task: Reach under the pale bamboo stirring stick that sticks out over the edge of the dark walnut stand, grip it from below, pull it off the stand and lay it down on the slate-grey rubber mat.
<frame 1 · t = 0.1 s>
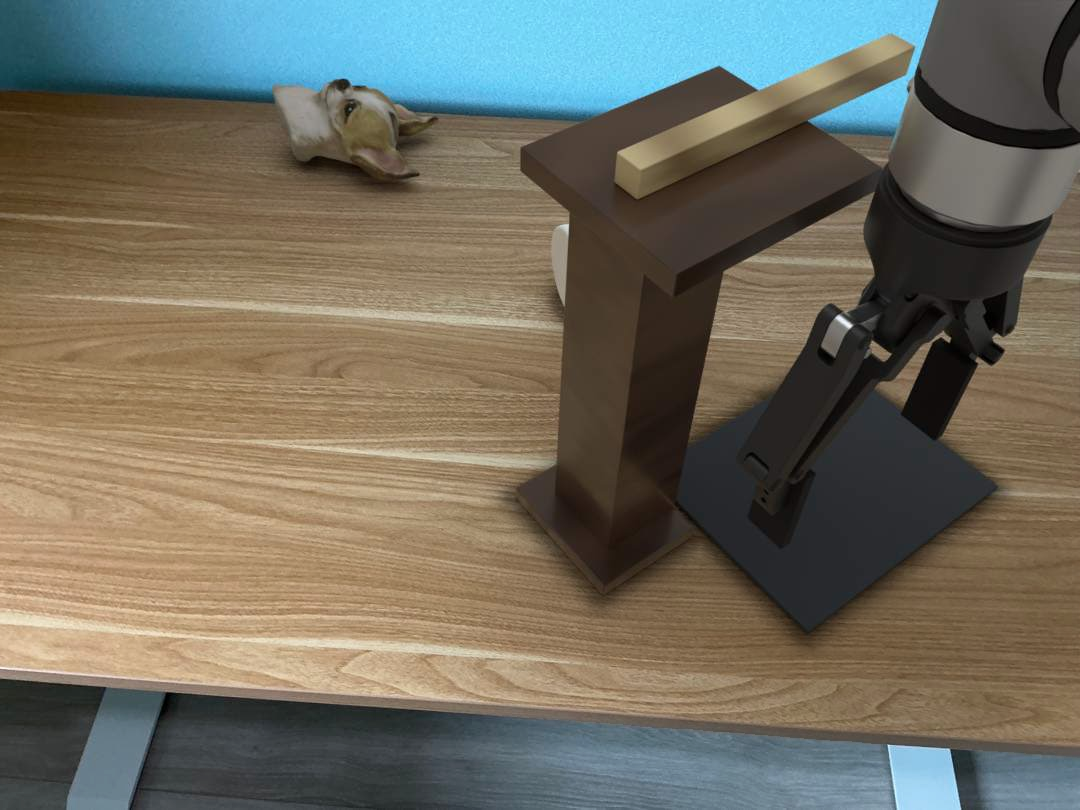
hand: (848, 475, 60), 10 cm above the table, tool pointing down, fingers open, 13 cm apart
mat: (821, 482, 73), on the table
stand: (644, 490, 72), on the table
mug: (627, 315, 84), on the table
ceramic sculpture: (358, 159, 98), on the table
stirring stick: (770, 125, 52), point 28 cm above the table, touching stand
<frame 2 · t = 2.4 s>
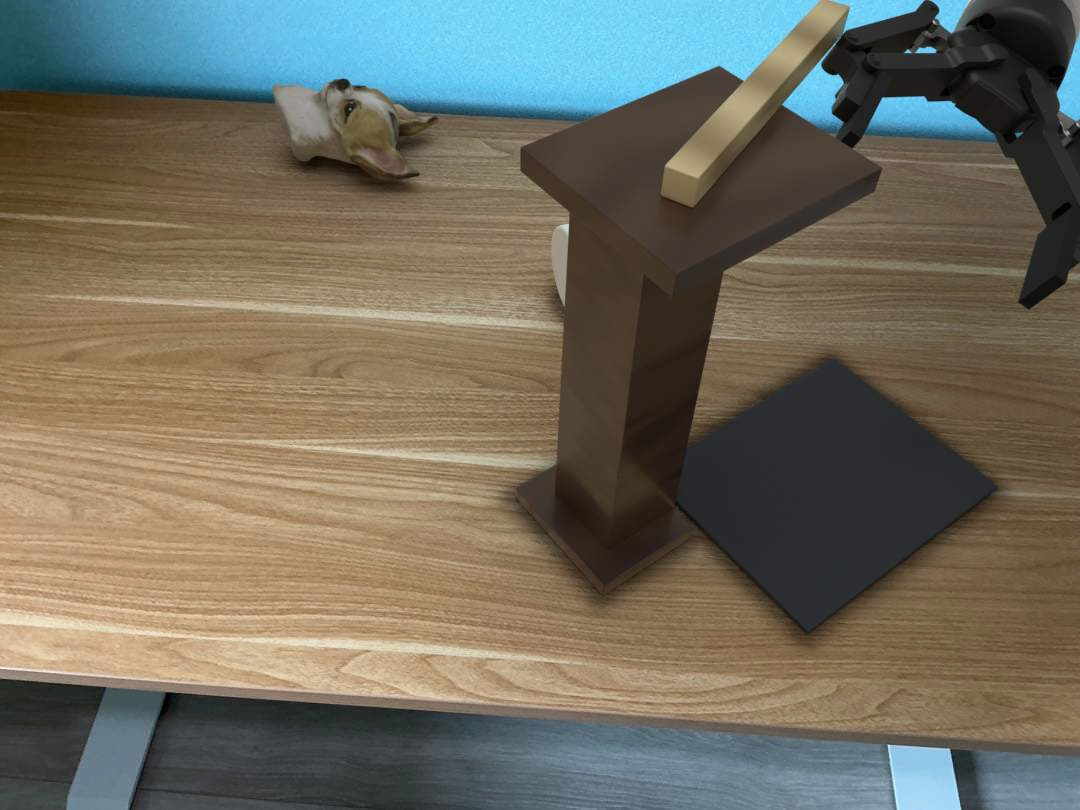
hand: (941, 222, 54), 24 cm above the table, tool horizontal, fingers open, 13 cm apart
stirring stick: (760, 107, 54), point 29 cm above the table, touching stand
everything else where it was.
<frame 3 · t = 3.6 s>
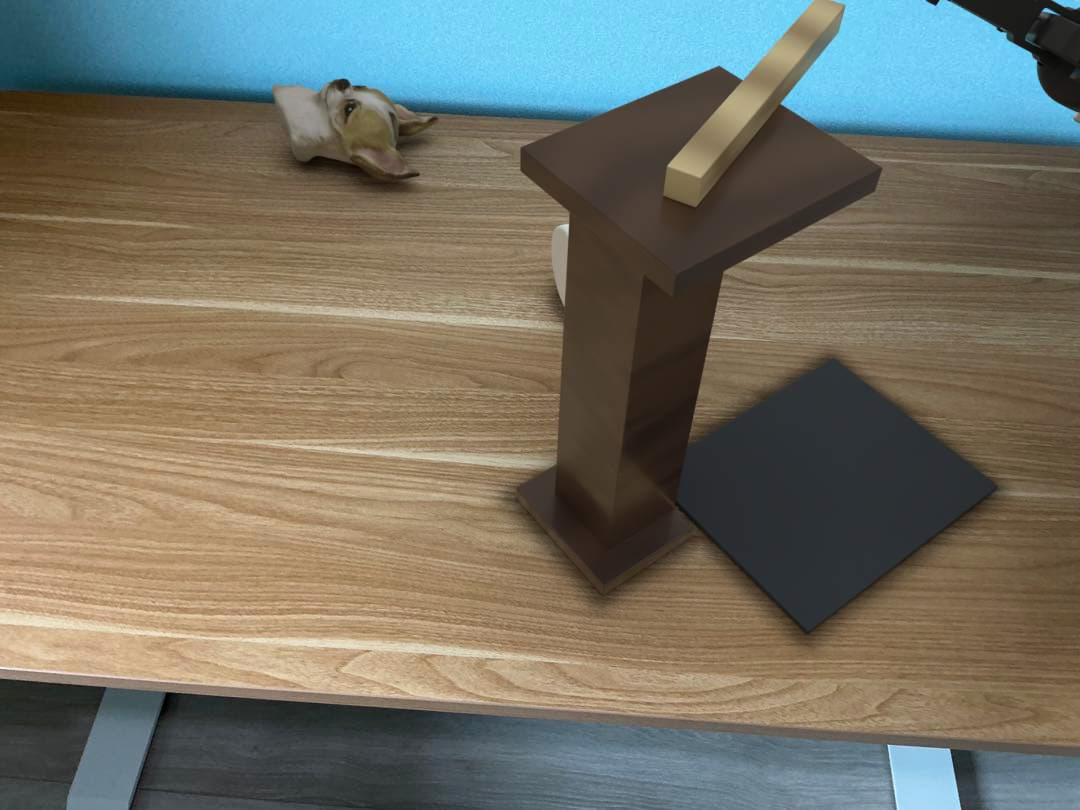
nothing on the table moved.
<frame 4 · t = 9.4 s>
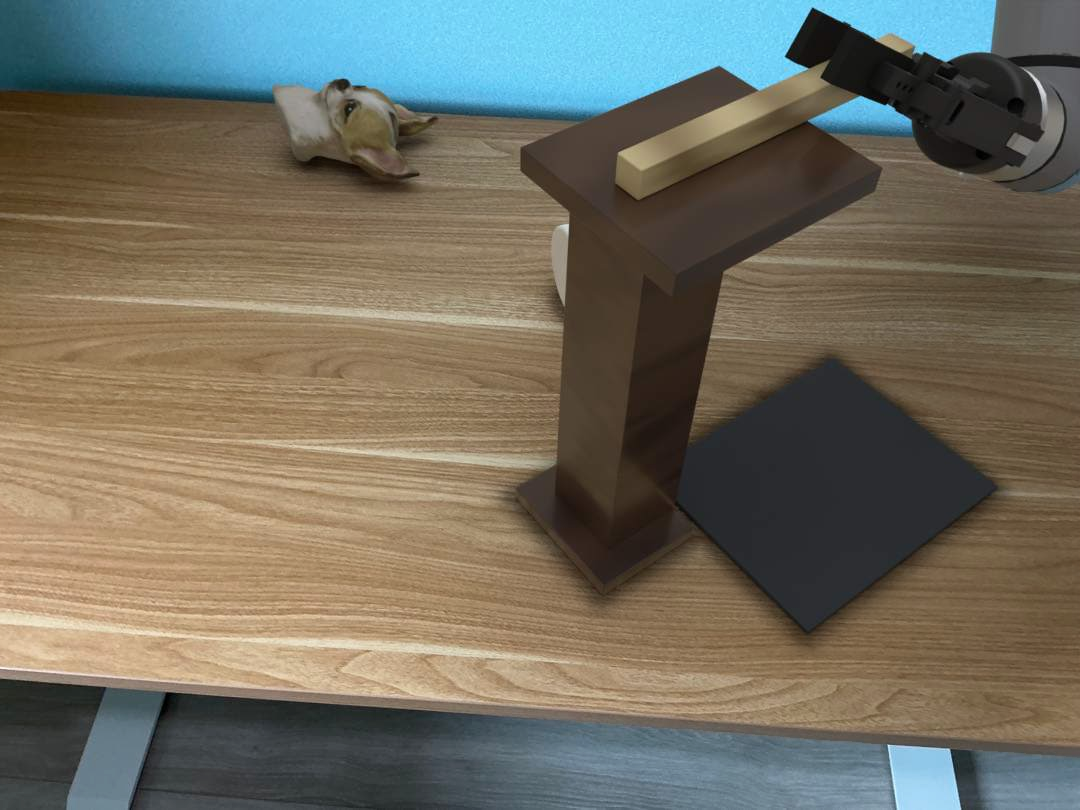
hand: (821, 45, 51), 32 cm above the table, tool pointing upward, fingers closed on stirring stick, 2 cm apart
stirring stick: (770, 125, 52), point 29 cm above the table, touching gripper, stand
everything else where it was.
when the fingers open (22 cm above the table, at t = 18.2 s): stirring stick drops 18 cm, resting on mat.
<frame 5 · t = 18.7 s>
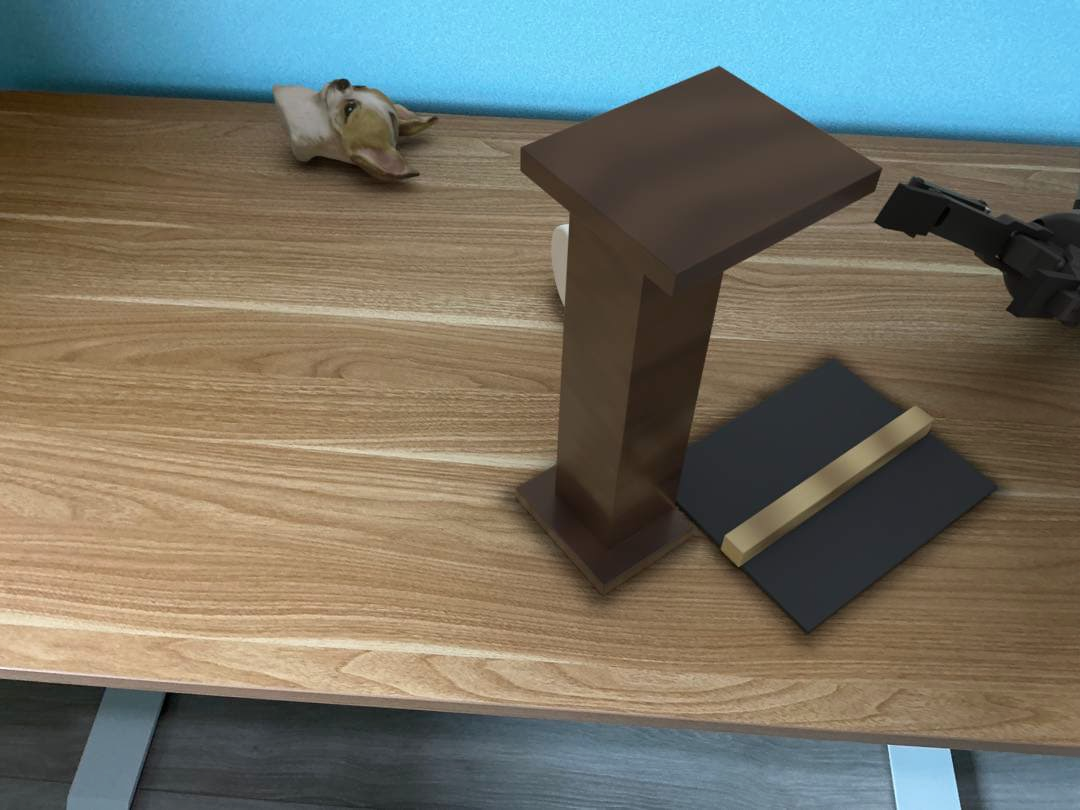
hand: (955, 247, 57), 21 cm above the table, tool pointing upward, fingers open, 9 cm apart
stirring stick: (828, 489, 72), resting on mat
everything else where it was.
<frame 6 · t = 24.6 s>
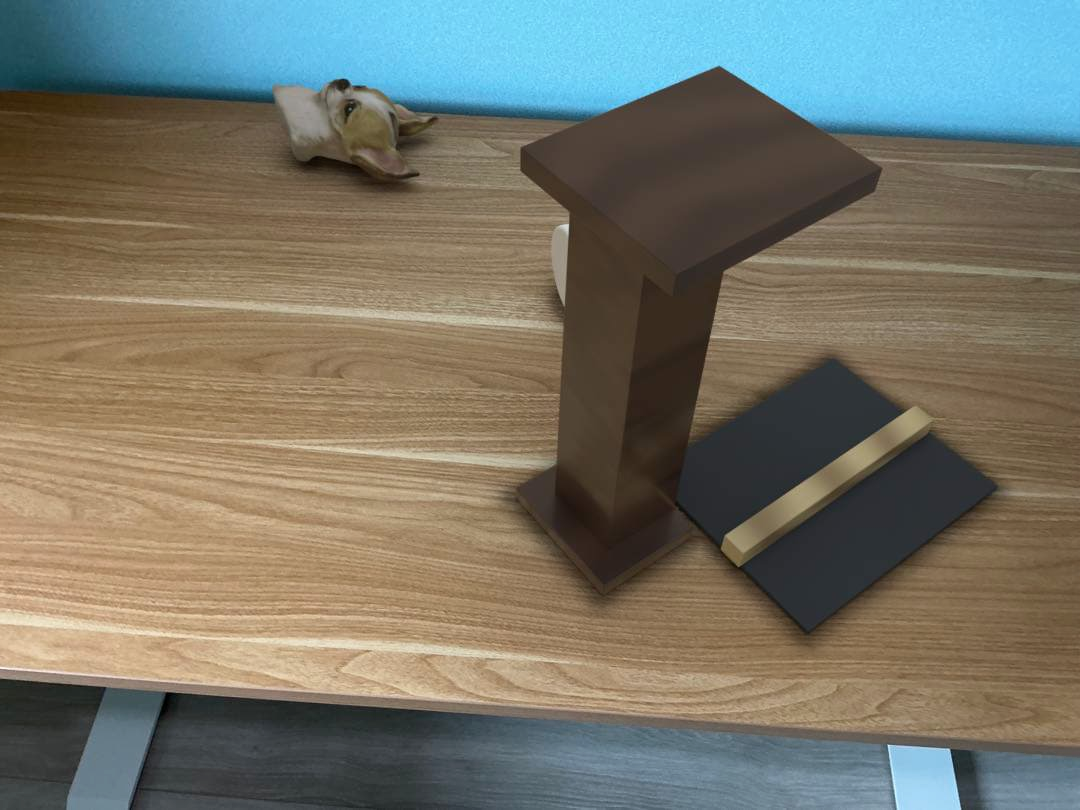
nothing on the table moved.
at the end: stirring stick inside the target area on the mat (0.9 cm from its centre), point 0.4 cm above the mat's base; the gripper is holding nothing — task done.
